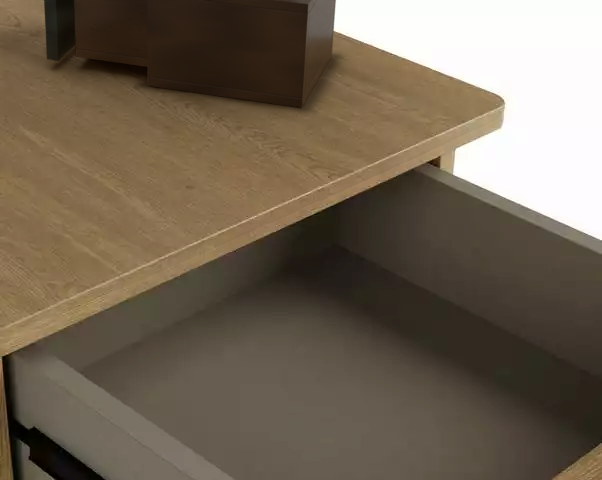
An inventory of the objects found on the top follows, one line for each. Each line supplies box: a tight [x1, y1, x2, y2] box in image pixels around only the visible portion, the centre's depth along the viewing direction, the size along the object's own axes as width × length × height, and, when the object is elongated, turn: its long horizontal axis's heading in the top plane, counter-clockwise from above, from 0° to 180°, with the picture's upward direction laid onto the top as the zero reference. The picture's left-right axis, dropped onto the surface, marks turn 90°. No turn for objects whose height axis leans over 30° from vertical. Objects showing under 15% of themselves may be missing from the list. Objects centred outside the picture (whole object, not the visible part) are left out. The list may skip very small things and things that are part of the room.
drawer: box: [43, 0, 147, 68], centre depth 125 cm, size 20×13×8 cm, turn 77°
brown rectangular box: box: [146, 0, 337, 108], centre depth 123 cm, size 15×14×10 cm
